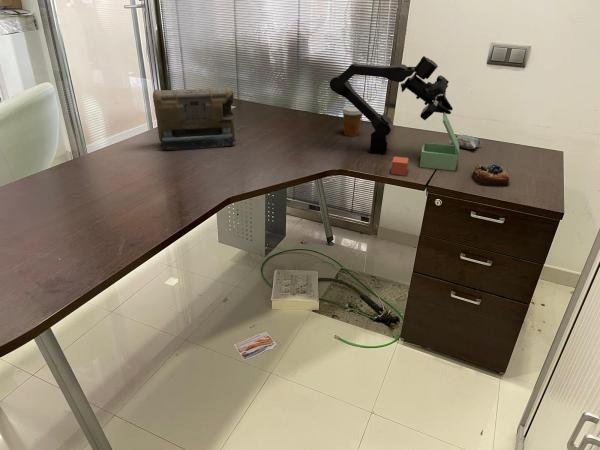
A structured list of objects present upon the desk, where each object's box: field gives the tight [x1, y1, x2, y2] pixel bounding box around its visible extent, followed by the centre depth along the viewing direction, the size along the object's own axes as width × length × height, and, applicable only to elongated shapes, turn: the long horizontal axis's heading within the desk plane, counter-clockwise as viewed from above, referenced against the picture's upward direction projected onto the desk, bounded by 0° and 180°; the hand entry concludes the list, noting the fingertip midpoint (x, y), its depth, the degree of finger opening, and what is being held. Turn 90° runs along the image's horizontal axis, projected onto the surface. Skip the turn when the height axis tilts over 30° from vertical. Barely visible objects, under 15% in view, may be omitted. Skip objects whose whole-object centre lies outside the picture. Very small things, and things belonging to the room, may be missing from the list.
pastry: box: [472, 164, 510, 187], centre depth 166 cm, size 11×12×6 cm
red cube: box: [390, 156, 410, 177], centre depth 172 cm, size 6×6×5 cm
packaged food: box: [448, 134, 483, 150], centre depth 197 cm, size 9×12×5 cm
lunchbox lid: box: [442, 112, 460, 156], centre depth 174 cm, size 14×12×1 cm
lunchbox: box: [419, 141, 459, 172], centre depth 180 cm, size 14×12×6 cm
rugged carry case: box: [152, 86, 236, 151], centre depth 192 cm, size 33×14×25 cm, turn 108°
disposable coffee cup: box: [341, 105, 363, 137], centre depth 210 cm, size 10×10×12 cm
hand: (451, 111), depth 178 cm, fingers closed
